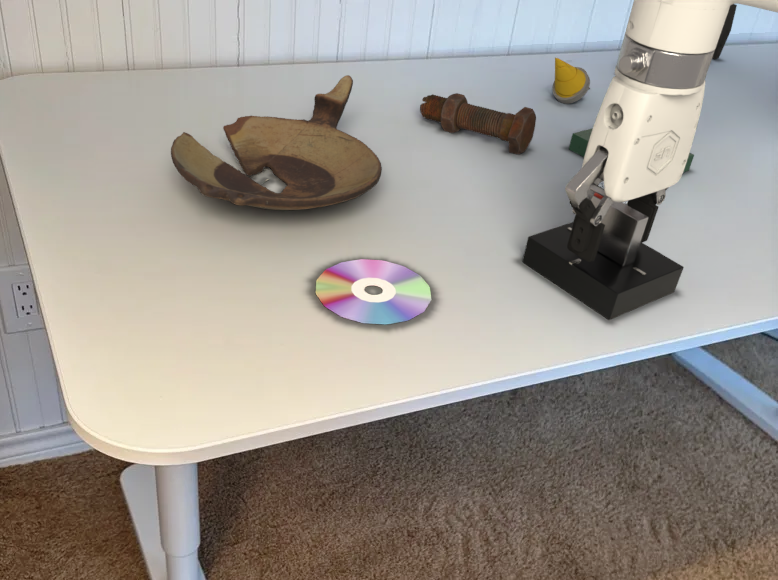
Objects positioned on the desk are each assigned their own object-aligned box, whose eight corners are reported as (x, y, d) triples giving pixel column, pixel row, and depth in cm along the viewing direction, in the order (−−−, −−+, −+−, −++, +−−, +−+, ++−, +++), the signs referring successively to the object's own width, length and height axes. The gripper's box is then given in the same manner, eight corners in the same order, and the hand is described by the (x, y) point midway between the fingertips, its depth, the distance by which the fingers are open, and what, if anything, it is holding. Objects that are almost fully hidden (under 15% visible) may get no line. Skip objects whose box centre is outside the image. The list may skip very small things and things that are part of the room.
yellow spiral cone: (594, 110, 122) (572, 70, 113) (559, 117, 124) (535, 78, 116) (597, 78, 123) (575, 36, 115) (562, 86, 126) (539, 45, 117)
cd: (360, 247, 85) (360, 247, 85) (453, 288, 80) (453, 287, 80) (290, 292, 78) (290, 291, 78) (388, 339, 73) (389, 339, 73)
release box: (688, 170, 107) (699, 141, 104) (639, 186, 102) (648, 155, 99) (618, 136, 114) (626, 107, 111) (568, 149, 109) (575, 119, 106)
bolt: (424, 131, 114) (525, 159, 108) (410, 122, 109) (515, 151, 104) (437, 88, 112) (540, 114, 107) (424, 77, 108) (531, 104, 102)
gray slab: (633, 262, 81) (649, 214, 78) (623, 267, 81) (638, 218, 77) (588, 235, 85) (602, 188, 81) (578, 239, 84) (591, 191, 81)
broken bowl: (126, 187, 91) (118, 119, 86) (321, 123, 108) (324, 63, 103) (262, 272, 80) (262, 199, 75) (454, 186, 98) (464, 122, 93)
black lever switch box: (675, 292, 84) (685, 265, 82) (608, 320, 79) (617, 292, 77) (587, 239, 91) (595, 212, 89) (521, 262, 86) (527, 235, 84)
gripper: (630, 92, 64) (574, 286, 76) (759, 63, 73) (691, 241, 84) (561, 61, 69) (518, 249, 80) (690, 37, 77) (634, 210, 89)
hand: (607, 244), depth 82 cm, fingers open, 7 cm apart
